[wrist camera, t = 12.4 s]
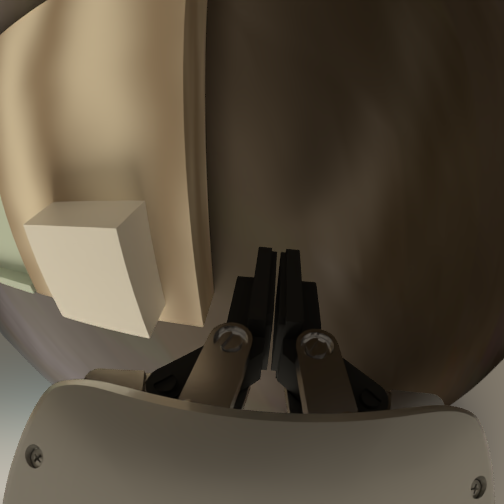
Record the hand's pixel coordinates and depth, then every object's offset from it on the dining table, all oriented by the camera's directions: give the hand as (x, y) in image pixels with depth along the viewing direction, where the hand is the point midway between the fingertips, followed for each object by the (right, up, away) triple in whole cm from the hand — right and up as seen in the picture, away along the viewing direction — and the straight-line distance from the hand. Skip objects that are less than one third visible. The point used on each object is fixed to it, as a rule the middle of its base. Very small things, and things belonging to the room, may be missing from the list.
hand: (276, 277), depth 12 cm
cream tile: (-9, +1, +1) cm, 9 cm away
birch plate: (-10, +7, +1) cm, 12 cm away
